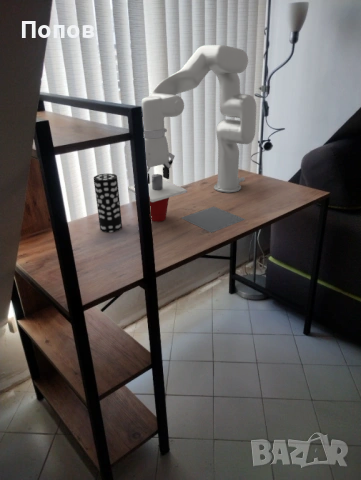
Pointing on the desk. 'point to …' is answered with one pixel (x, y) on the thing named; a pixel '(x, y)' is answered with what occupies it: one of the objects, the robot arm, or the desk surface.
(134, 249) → the desk surface
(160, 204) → the plastic cup
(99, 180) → the white-spotted black cylinder
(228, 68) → the robot arm
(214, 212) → the mat
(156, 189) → the lid
